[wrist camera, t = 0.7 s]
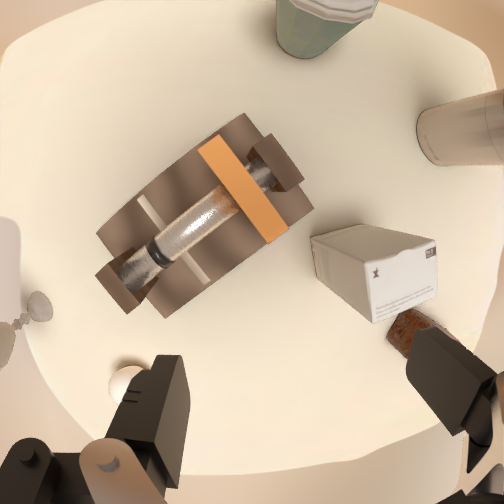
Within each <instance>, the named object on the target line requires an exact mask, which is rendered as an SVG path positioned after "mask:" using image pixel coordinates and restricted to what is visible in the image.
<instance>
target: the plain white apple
mask: <svg viewBox="0 0 504 504" xmlns="http://www.w3.org/2000/svg"><path fill="white" fill-rule="evenodd" d="M142 369H143V368H141V367H139V366H127V367H125V368H122V369H120V370H118V371H116V372H115V373H114V374H113V375H112V376H111V378H110V380H109V394H110V397H111V398H112V400H113V401H114V402H115V403H116V404H118V405H119V404H120V402H122V398H123V396H124V394H125V392H126V389H127V387H128V385H129V383H130V381H131V379H132V378H133V377H134V376H135V375H136V374H138V373H139V372H140V371H141V370H142ZM144 370H145V369H144Z"/></svg>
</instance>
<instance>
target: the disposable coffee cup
mask: <svg viewBox="0 0 504 504" xmlns="http://www.w3.org/2000/svg"><path fill="white" fill-rule="evenodd" d="M378 1H379V0H276V34H277V39H278V43H279V45H280V46H281V47H282V48H283V49H284V50H285V51H286V52H287V53H288V54H291V55H293V56H295V57H297V58H313V57H315V56H317V55H319V54H321V53H323V52H324V51H325V50H327V49H328V48H329V47H330V46H331V45H333V44H334V43H335V42H336V41H338V40H339V39H340V38H341V37H343V36H344V35H345V34H347V33H348V32H349V31H350V30H352V29H353V28H354V27H356V26H357V25H358V24H360V23H361V22H362V21H364V20H366V19H369V18H371V17H372V15H373V13H374V11H375V8H376V6H377V3H378Z"/></svg>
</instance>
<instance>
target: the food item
mask: <svg viewBox="0 0 504 504" xmlns="http://www.w3.org/2000/svg"><path fill="white" fill-rule="evenodd" d="M433 326H436V327H438V328H439V329H440V330H442V331H443V332H444V333H445V334H447V335H448V336H449V337H450V338H452V339H454V340H457V341H458V342H459V340H458V339H456V338H455V337H454V336H453V335H452V334H451V333H449V331H447V330H446V328H445V329H444V328H443V327H442V326H440V325H439V324H437V323H435V322H434V321H433V320H431V319H430V318H428V317H427V316H425V315H424V314H422V313H420V312H418V311H416V310H413V309H408V310H405V311H403V312H401V313H400V314H399V316H398V318H397V320H396V321H395V323H394V325H393V326H392V328H391V329H390V330H389V332H388V334H387V339H388V341H389V342H390V343H391V344H392V345H393V346H394V347H395V349H397V350H398V351H399V352H400V353H401V354H402V355H403V356H404V357H405V358H407V359H408V357H409V353H410V349H411V345H412V341H413V337H414V334H415V332H416V331H417V330H420V329H424V328H429V327H433Z"/></svg>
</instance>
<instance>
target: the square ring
mask: <svg viewBox="0 0 504 504" xmlns="http://www.w3.org/2000/svg"><path fill="white" fill-rule="evenodd" d="M198 152H199V153H200V154H201V156H202V157H203V159H204V160H205V161H206V163H207V164H208V165H209V167H210V168H211V169H212V171H213V172H214V173H215V174H216V176H217V177H218V178H219V180H220V181H221V182H222V183H223V184H224V186H225V187H226V188H227V190H228V191H229V192H230V194H231V195H232V196H233V198H234V199H235V200H236V202H237V203H238V204H239V206H240V207H241V208H242V210H243V211H244V213H245V214H246V215H247V217H248V218H249V219H250V221H251V222H252V223H253V225H254V226H255V228H256V229H257V230H258V231H259V233H260V234H261V235H262V237H263V238H264V239H265V240H266V242H267V243H268V244H269V243H270V242H272V241H273V240H275V239H276V238H277V237H279V236H280V235H281V234H283V233H284V232H285V231H287V230H288V229H289V228H288V226H287V225H286V223H285V222H284V221H283V219H282V218H281V216H280V215H279V214H278V212H277V211H276V209H275V208H274V207H273V205H272V204H271V203H270V201H269V200H268V198H267V197H266V196H265V194H264V193H263V192H262V190H261V189H260V188H259V186H258V185H257V183H256V182H255V181H254V179H253V178H252V177H251V175H250V174H249V173H248V171H247V170H246V169H245V167H244V166H243V165H242V163H241V162H240V161H239V160H238V158H237V157H236V156H235V154H234V153H233V152H232V150H231V149H230V148H229V147H228V145H227V144H226V143H225V141H224V140H223V139H222V138H221V136H220V135H219V134H218V135H217V136H216V137H214V138H213V139H211V140H210V141H209V142H207V143H206V144H205V145H203V146H202V147H200V148H199V149H198Z"/></svg>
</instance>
